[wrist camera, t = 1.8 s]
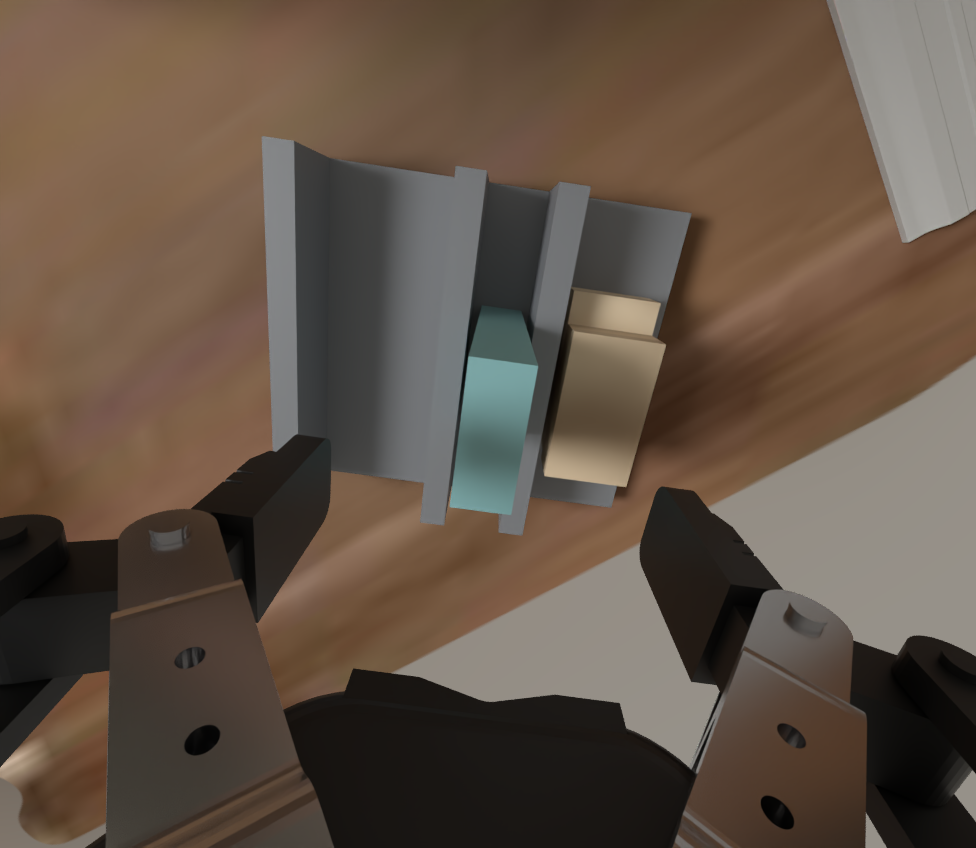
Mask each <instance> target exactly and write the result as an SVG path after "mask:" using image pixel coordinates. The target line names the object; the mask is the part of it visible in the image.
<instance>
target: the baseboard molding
mask: <svg viewBox="0 0 976 848" xmlns="http://www.w3.org/2000/svg"><path fill="white" fill-rule="evenodd" d="M827 4H828V7H829V10H830V13H831V16H832V20H833V23H834V26H835V29H836V32H837V35H838V39H839V42H840V45H841V48H842V51H843V55H844V58H845V61H846V64H847V67H848V71H849V74H850V77H851V80H852V83H853V86H854V90H855V93H856V96H857V99H858V102H859V106H860V109H861V112H862V115H863V118H864V121H865V125H866V128H867V131H868V134H869V137H870V141H871V144H872V147H873V150H874V153H875V157H876V160H877V163H878V166H879V169H880V172H881V176H882V179H883V182H884V185H885V188H886V192H887V195H888V198H889V201H890V204H891V208H892V211H893V214H894V217H895V220H896V223H897V227H898V230H899V233H900V236H901V239H902V243H909V242H911V241H912V240H914V239H916V238H918V237H919V236H921V235H923V234H925V233H927V232H929V231H932V230H935V229H937V228H940V227H943V226H947V225H950V224H952V223H954V222H956V221H958V220H960V219H961V218H963V217H965V216H967V215H968V214H969V213H970V212H972V211H974V210H976V0H827Z"/></svg>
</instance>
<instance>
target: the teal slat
mask: <svg viewBox="0 0 976 848" xmlns="http://www.w3.org/2000/svg"><path fill="white" fill-rule="evenodd" d="M537 370H538V363H537V360H536V357H535V354H534V350H533V347H532V344H531V341H530V337H529V334H528V331H527V328H526V324H525V321H524V318H523V315H522V311H518V310H511V309H504V308H498V307H491V306H484V305H482V307H481V311H480V315H479V318H478V322H477V326H476V330H475V334H474V338H473V341H472V345H471V349H470V353H469V357H468V365H467V373H466V381H465V389H464V397H463V405H462V413H461V421H460V429H459V437H458V445H457V453H456V461H455V469H454V477H453V485H452V493H451V501H450V507H453V508H461V509H469V510H476V511H484V512H491V513H499V514H507V515H511V513H512V507H513V502H514V496H515V491H516V485H517V480H518V474H519V469H520V463H521V458H522V452H523V447H524V441H525V436H526V430H527V425H528V420H529V414H530V409H531V403H532V398H533V392H534V387H535V381H536V376H537Z"/></svg>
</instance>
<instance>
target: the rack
mask: <svg viewBox="0 0 976 848" xmlns="http://www.w3.org/2000/svg"><path fill="white" fill-rule="evenodd" d="M262 154H263V183H264V211H265V239H266V268H267V296H268V324H269V353H270V381H271V409H272V438H273V451H276V452H277V451H278V450H279V449H280V448H281V447H282V446H283V445H284V444H286V443H287V442H288V441H289V440H290V439H291V438H292V437H293V436H295V435H296V434H299V435H306V436H313V437H320V438H327V439H329V440H330V443H331V470H332V471H339V472H347V473H354V474H362V475H369V476H377V477H384V478H392V479H400V480H407V481H415V482H422V483H424V489H423V499H422V509H421V520H420V522H422V523H430V524H438V525H444V522H445V517H446V512H447V507H448V501H449V496H450V491H451V486H452V485H453V477H454V469H455V461H456V453H457V445H458V437H459V429H460V421H461V413H462V405H463V397H464V389H465V381H466V373H467V365H468V357H469V353H470V349H471V345H472V341H473V338H474V334H475V330H476V326H477V322H478V318H479V315H480V311H481V307H482V305H484V306H491V307H498V308H504V309H511V310H518V311H522V315H523V318H524V321H525V324H526V328H527V331H528V334H529V337H530V341H531V344H532V347H533V350H534V354H535V357H536V360H537V363H538V370H537V376H536V381H535V387H534V392H533V398H532V403H531V409H530V414H529V420H528V425H527V430H526V436H525V441H524V447H523V452H522V458H521V463H520V469H519V474H518V480H517V485H516V491H515V496H514V502H513V507H512V513H511V515H507V514H499V533H507V534H514V535H522V534H523V529H524V524H525V519H526V514H527V509H528V503H529V498H530V497H535V498H543V499H550V500H558V501H565V502H573V503H581V504H588V505H596V506H603V507H611V506H612V503H613V499H614V495H615V492H616V488H617V486H614V485H607V484H599V483H592V482H584V481H577V480H570V479H562V478H555V477H547V476H544V471H543V466H542V461H541V455H542V450H543V448H542V444H541V437H542V432H543V427H544V422H545V417H546V412H547V407H548V402H549V397H550V392H551V387H552V381H553V376H554V371H555V366H556V361H557V356H558V351H559V346H560V341H561V336H562V331H563V326H564V320H565V315H566V310H567V305H568V300H569V295H570V290H571V287H576V288H583V289H590V290H597V291H604V292H611V293H617V294H624V295H631V296H638V297H645V298H649V299H652V300H654V301H657V302H659V303H661V305H660V308H659V312H658V316H657V319H656V323H655V327H654V331H653V334H652V336H653V337H655V338H658V334H659V331H660V327H661V323H662V320H663V316H664V312H665V309H666V305H667V301H668V298H669V294H670V291H671V287H672V283H673V280H674V276H675V272H676V269H677V265H678V261H679V258H680V254H681V250H682V247H683V243H684V239H685V236H686V232H687V228H688V225H689V221H690V217H691V214H692V213H686V212H679V211H673V210H666V209H660V208H653V207H647V206H640V205H633V204H627V203H620V202H614V201H607V200H601V199H594V198H589V193H590V188H591V186H584V185H578V184H571V183H565V182H559V183H558V184H557V185H556V186H555V187H554V188H553V189H552V190H551V191H550V192H548V191H542V190H535V189H528V188H522V187H515V186H509V185H502V184H496V183H489V179H488V173H487V170H480V169H473V168H467V167H460V166H456V167H455V177H450V176H443V175H437V174H430V173H423V172H417V171H410V170H404V169H397V168H391V167H384V166H378V165H371V164H364V163H358V162H351V161H345V160H338V159H332V158H328V157H326V156H324V155H322V154H320V153H318V152H316V151H314V150H312V149H310V148H308V147H305V146H303V145H301V144H299V143H297V142H295V141H291V140H284V139H278V138H271V137H265V136H262Z"/></svg>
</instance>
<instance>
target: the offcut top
mask: <svg viewBox="0 0 976 848" xmlns="http://www.w3.org/2000/svg"><path fill="white" fill-rule="evenodd" d="M665 348H666V344H665V343H663V342H661V341H660V340H658V339H657V338H655V337H653V336H651V335H644V334H637V333H630V332H623V331H616V330H609V329H602V328H596V327H589V326H582V325H575V324H568V325H567V330H566V335H565V340H564V345H563V350H562V355H561V360H560V365H559V370H558V375H557V380H556V385H555V390H554V395H553V400H552V405H551V410H550V415H549V420H548V425H547V430H546V435H545V440H544V445H543V450H542V455H541V461H542V466H543V471H544V476H547V477H555V478H562V479H570V480H577V481H584V482H592V483H599V484H607V485H614V486H622V487H626V486H627V482H628V479H629V475H630V472H631V468H632V465H633V461H634V458H635V454H636V451H637V447H638V443H639V440H640V436H641V433H642V429H643V426H644V422H645V419H646V415H647V412H648V408H649V404H650V401H651V397H652V394H653V390H654V387H655V383H656V380H657V376H658V372H659V369H660V365H661V362H662V358H663V355H664V351H665Z"/></svg>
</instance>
